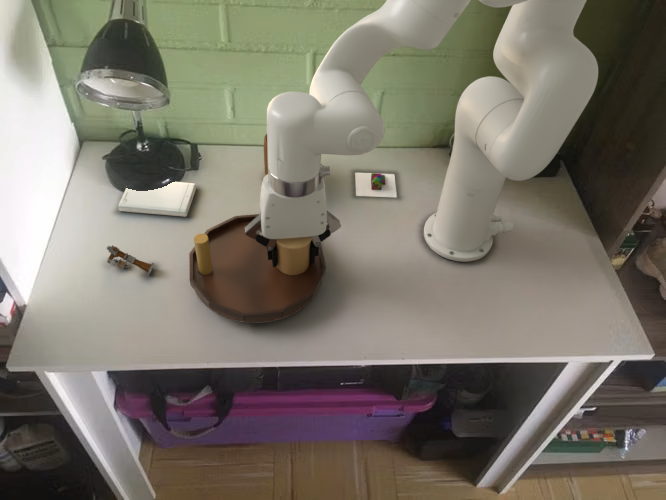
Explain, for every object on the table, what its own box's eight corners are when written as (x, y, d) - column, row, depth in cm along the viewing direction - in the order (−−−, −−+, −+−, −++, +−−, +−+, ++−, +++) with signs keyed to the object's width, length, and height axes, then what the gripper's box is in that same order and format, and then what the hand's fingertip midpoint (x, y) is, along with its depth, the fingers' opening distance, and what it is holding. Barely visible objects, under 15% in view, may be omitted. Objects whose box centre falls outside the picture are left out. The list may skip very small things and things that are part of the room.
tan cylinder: (308, 247, 103) (309, 218, 97) (313, 274, 98) (315, 245, 93) (272, 250, 102) (271, 221, 96) (276, 278, 97) (275, 249, 92)
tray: (313, 218, 109) (315, 183, 103) (333, 315, 94) (336, 280, 88) (190, 228, 105) (184, 192, 99) (191, 329, 91) (184, 295, 85)
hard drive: (117, 205, 109) (185, 211, 108) (131, 176, 114) (195, 181, 114) (119, 212, 110) (186, 217, 110) (132, 183, 115) (196, 188, 115)
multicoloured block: (396, 197, 117) (398, 187, 115) (356, 195, 116) (357, 186, 115) (394, 174, 121) (395, 164, 120) (355, 172, 121) (356, 162, 119)
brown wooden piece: (105, 254, 101) (110, 240, 98) (149, 275, 103) (155, 262, 100) (100, 262, 100) (105, 248, 97) (144, 283, 102) (150, 270, 98)
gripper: (347, 156, 90) (339, 239, 103) (232, 162, 87) (239, 246, 101) (357, 188, 85) (347, 271, 98) (235, 196, 82) (242, 280, 96)
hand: (292, 258), depth 99 cm, fingers closed on tan cylinder, 5 cm apart
